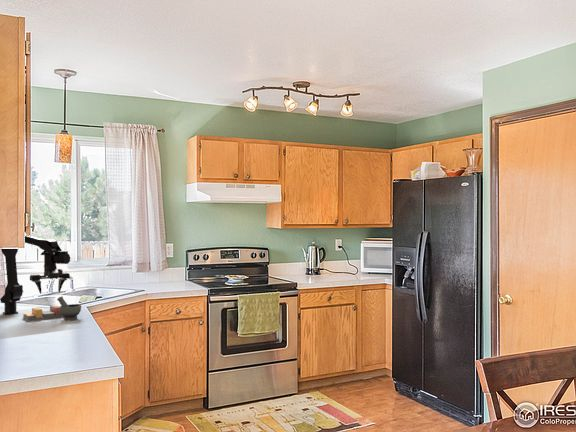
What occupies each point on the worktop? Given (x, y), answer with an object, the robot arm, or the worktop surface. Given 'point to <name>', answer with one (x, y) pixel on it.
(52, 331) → the worktop surface
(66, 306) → the mortar and pestle
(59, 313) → the brick plug
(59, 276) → the robot arm
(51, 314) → the slot rack
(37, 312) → the ochre plug
